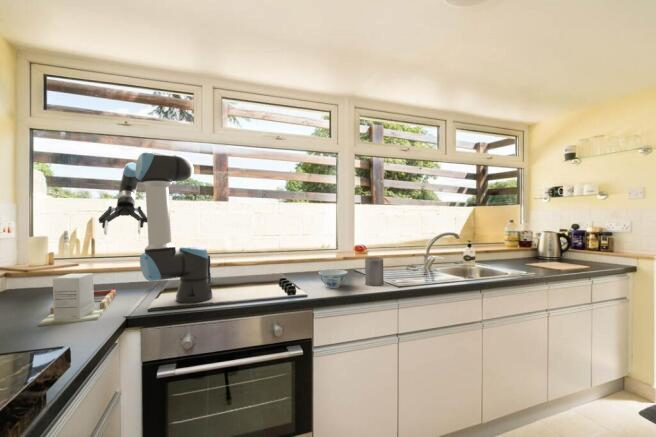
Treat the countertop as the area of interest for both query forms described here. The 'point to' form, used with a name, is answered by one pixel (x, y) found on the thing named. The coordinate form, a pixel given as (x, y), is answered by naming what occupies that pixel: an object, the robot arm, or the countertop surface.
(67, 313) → the supplement box
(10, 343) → the countertop surface
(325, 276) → the chinaware
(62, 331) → the countertop surface
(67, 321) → the track
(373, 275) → the pillar candle
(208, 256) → the storage jar
